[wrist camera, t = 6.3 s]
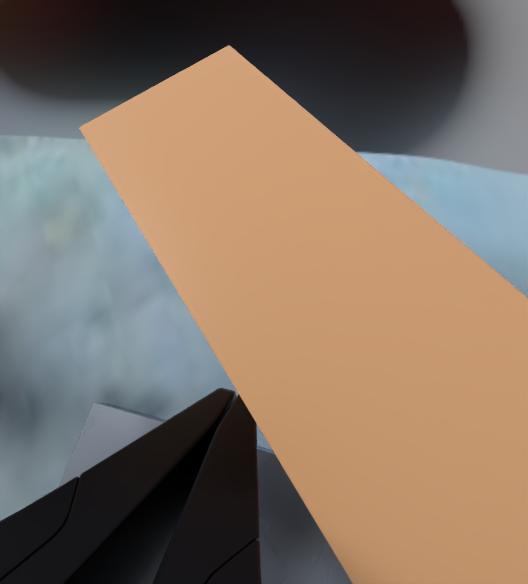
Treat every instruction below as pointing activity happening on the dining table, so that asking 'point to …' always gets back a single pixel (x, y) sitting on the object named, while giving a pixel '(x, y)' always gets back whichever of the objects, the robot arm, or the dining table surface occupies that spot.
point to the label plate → (271, 493)
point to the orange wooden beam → (338, 323)
